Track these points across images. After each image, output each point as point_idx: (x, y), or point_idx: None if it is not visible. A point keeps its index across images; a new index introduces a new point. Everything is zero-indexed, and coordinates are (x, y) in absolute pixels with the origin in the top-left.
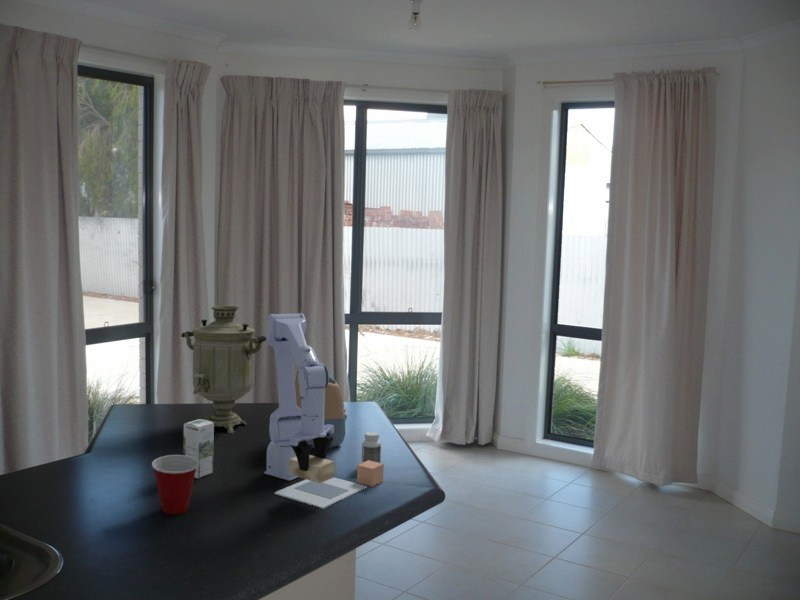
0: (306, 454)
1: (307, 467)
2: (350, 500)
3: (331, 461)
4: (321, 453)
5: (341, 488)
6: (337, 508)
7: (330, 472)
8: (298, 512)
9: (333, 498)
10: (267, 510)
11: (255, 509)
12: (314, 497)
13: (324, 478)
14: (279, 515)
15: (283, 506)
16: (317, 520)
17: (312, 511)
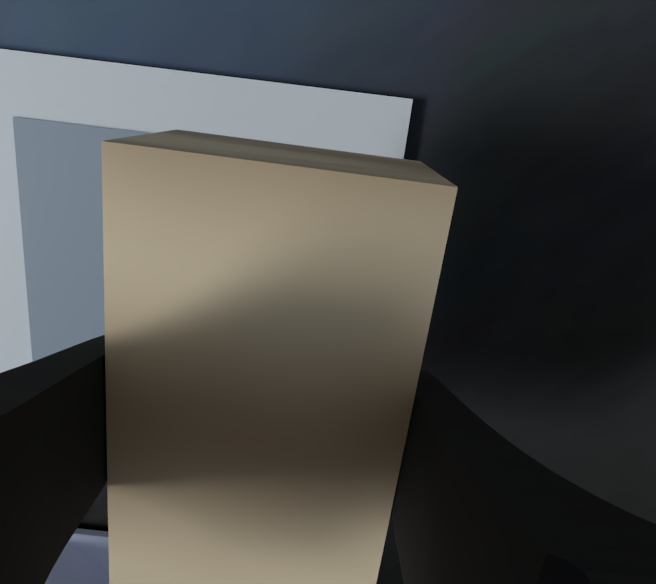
0: (580, 492)
1: (424, 380)
2: (150, 4)
3: (129, 188)
4: (65, 430)
5: (26, 186)
6: (345, 4)
7: (230, 144)
8: (542, 218)
9: (222, 129)
10: (590, 395)
11: (603, 456)
12: None
13: (346, 154)
14: (636, 293)
15: (492, 353)
16: (623, 8)
17: (484, 143)
